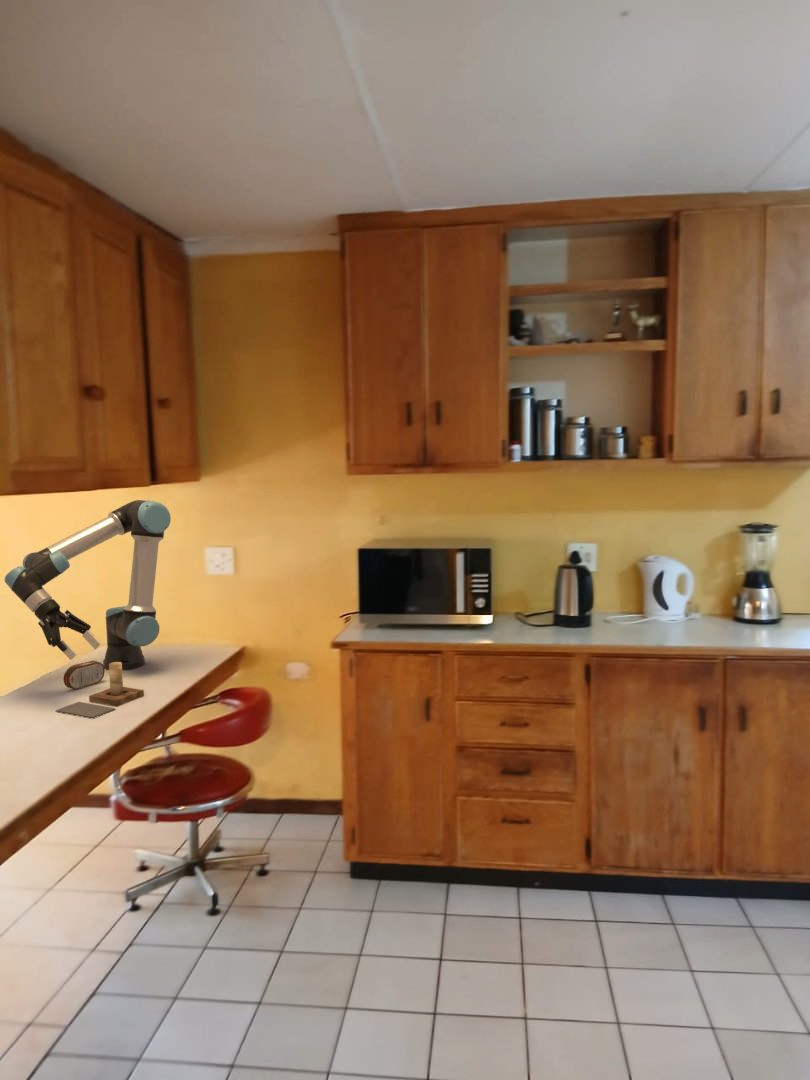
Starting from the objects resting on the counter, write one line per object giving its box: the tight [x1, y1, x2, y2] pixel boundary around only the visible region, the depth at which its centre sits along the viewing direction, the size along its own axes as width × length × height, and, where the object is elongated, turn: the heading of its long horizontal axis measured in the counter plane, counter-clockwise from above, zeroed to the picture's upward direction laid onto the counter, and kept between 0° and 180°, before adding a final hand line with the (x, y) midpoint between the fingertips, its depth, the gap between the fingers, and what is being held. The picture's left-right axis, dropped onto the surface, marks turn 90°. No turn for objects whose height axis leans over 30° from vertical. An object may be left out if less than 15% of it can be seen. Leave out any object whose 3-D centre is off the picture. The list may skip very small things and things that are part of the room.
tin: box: [63, 660, 106, 690], centre depth 258 cm, size 15×3×8 cm, turn 149°
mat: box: [55, 701, 116, 719], centre depth 232 cm, size 9×16×1 cm, turn 66°
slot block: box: [88, 686, 145, 708], centre depth 244 cm, size 12×12×2 cm
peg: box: [108, 662, 124, 696], centre depth 243 cm, size 4×4×12 cm
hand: (86, 651), depth 243 cm, fingers open, 13 cm apart
